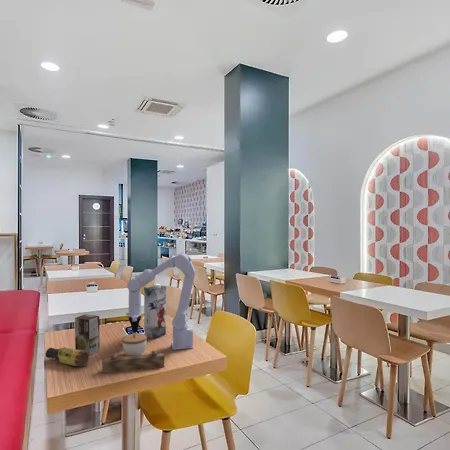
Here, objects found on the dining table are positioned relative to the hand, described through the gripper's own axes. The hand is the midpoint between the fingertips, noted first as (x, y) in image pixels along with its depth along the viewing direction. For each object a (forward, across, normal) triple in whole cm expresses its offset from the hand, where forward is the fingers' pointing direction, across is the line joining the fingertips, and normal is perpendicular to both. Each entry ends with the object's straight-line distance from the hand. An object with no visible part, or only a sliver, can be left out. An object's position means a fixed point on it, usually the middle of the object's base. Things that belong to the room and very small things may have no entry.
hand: (134, 332), depth 160 cm
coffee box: (+7, +2, -21) cm, 22 cm away
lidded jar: (+7, +10, 0) cm, 13 cm away
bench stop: (+7, +25, 0) cm, 26 cm away
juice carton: (+7, -14, +10) cm, 18 cm away
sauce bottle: (+4, +19, -19) cm, 27 cm away
